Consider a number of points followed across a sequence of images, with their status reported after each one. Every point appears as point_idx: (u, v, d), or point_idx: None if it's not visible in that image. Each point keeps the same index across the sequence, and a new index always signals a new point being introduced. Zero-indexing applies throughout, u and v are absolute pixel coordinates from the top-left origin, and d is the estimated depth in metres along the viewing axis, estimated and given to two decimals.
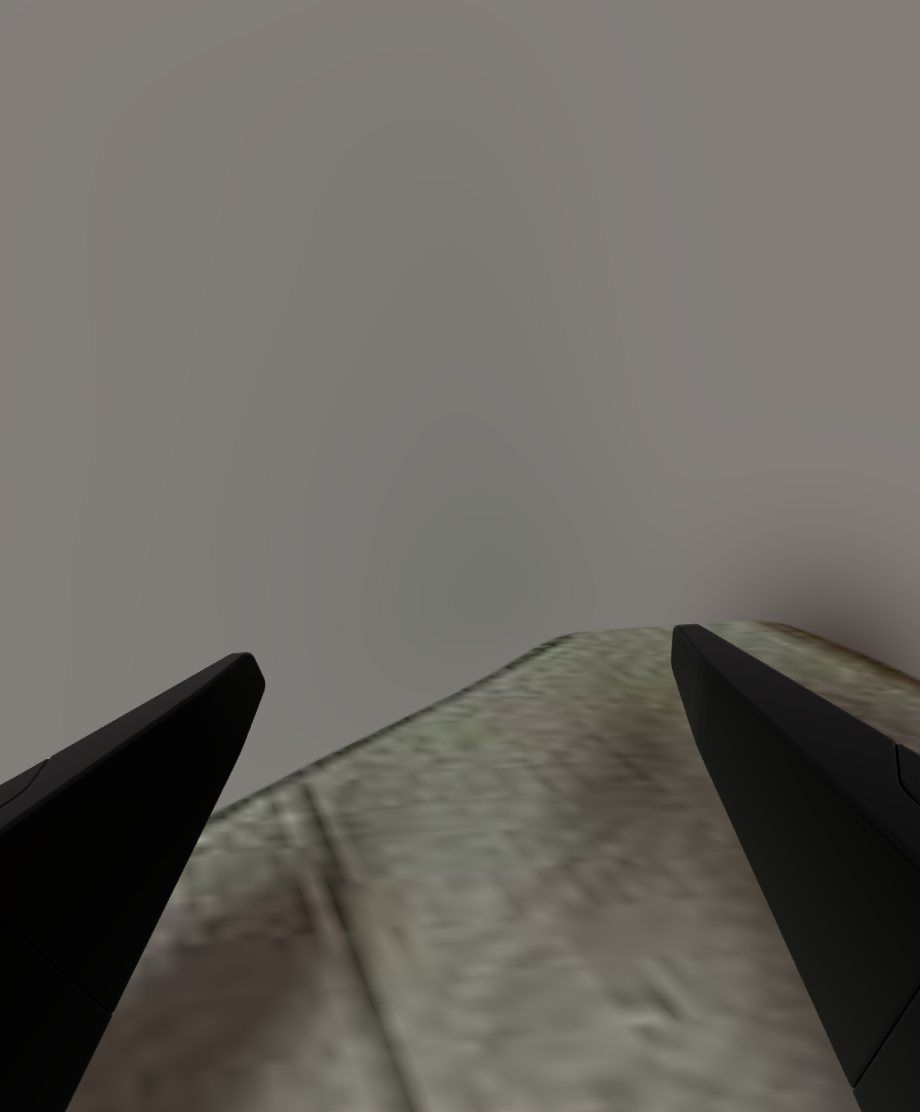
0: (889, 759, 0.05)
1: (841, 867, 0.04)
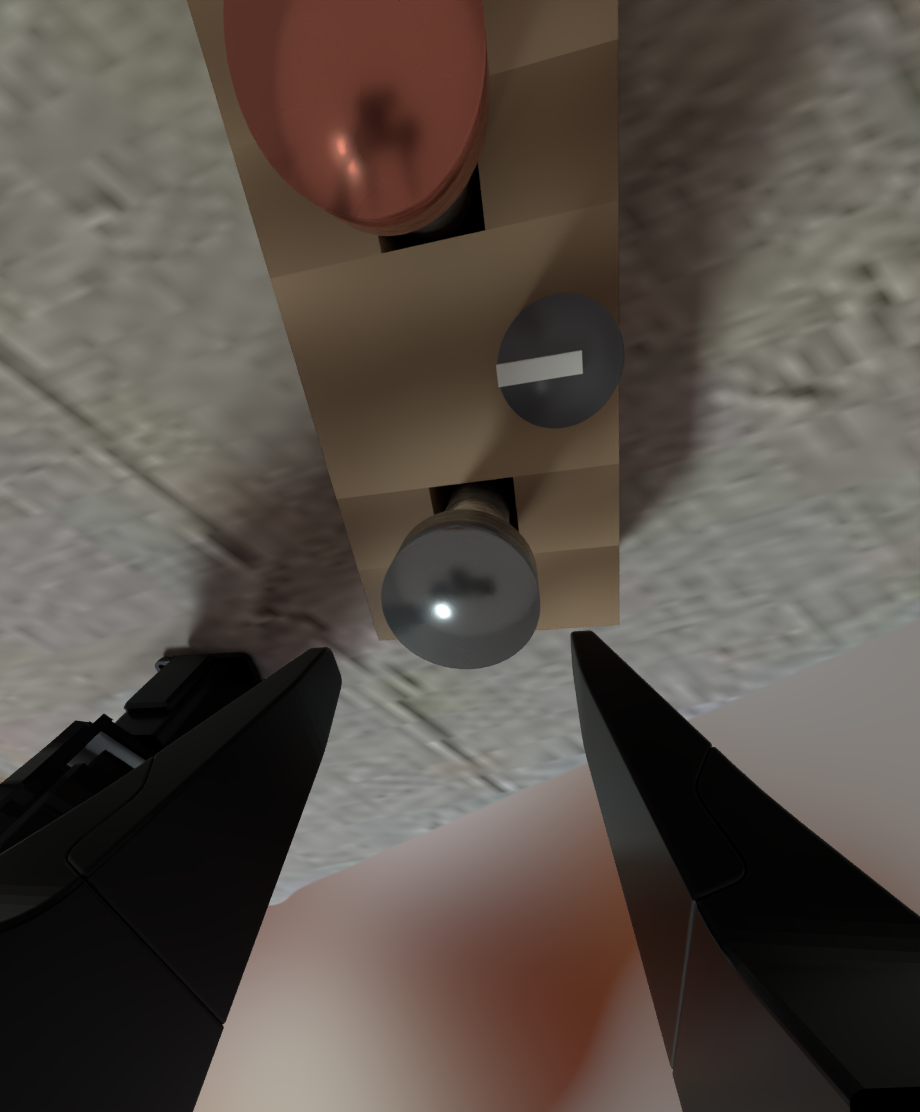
0: (698, 762, 0.05)
1: (647, 863, 0.05)
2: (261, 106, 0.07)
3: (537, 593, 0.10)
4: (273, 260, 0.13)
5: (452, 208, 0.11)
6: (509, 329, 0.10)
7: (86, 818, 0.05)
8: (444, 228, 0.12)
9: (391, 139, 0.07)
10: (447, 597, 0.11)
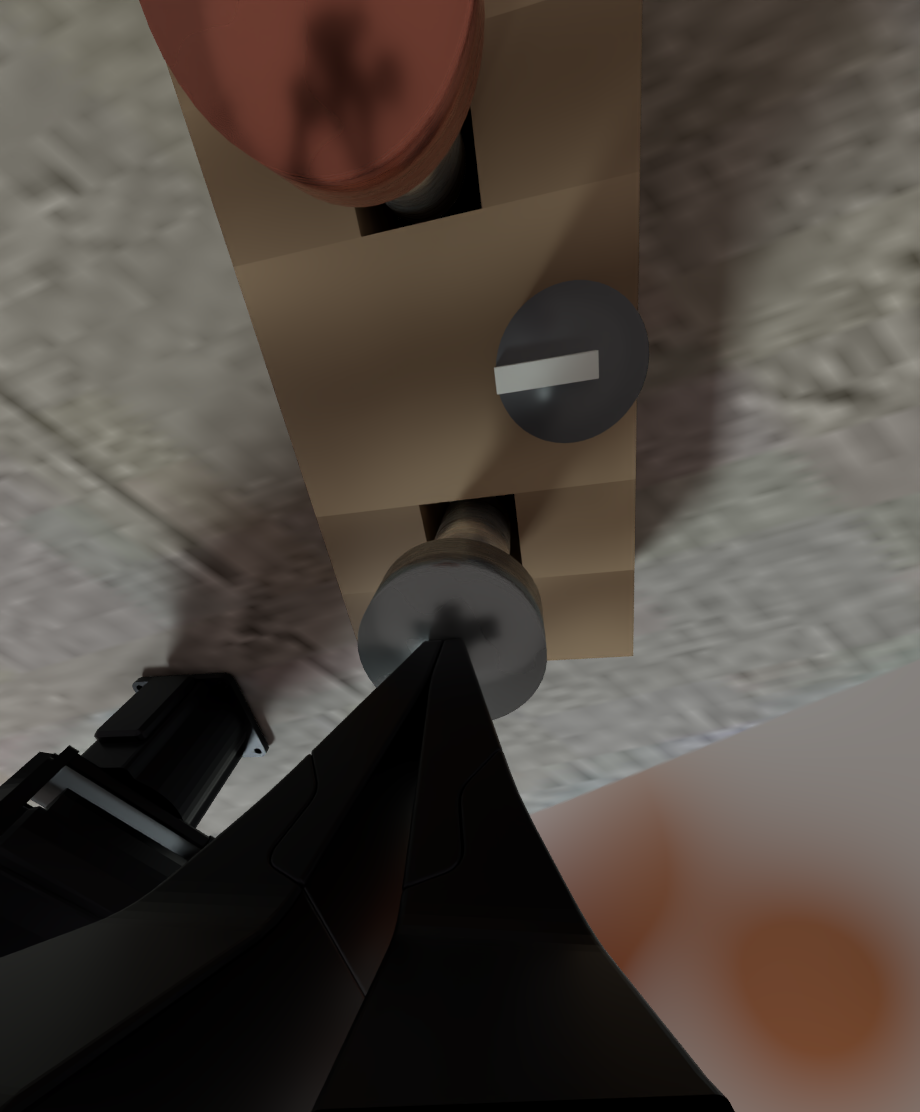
0: (479, 764, 0.05)
1: None
2: (176, 23, 0.05)
3: (543, 642, 0.09)
4: (237, 246, 0.11)
5: (442, 181, 0.10)
6: (510, 324, 0.09)
7: (270, 820, 0.05)
8: (434, 207, 0.11)
9: (350, 67, 0.05)
10: None
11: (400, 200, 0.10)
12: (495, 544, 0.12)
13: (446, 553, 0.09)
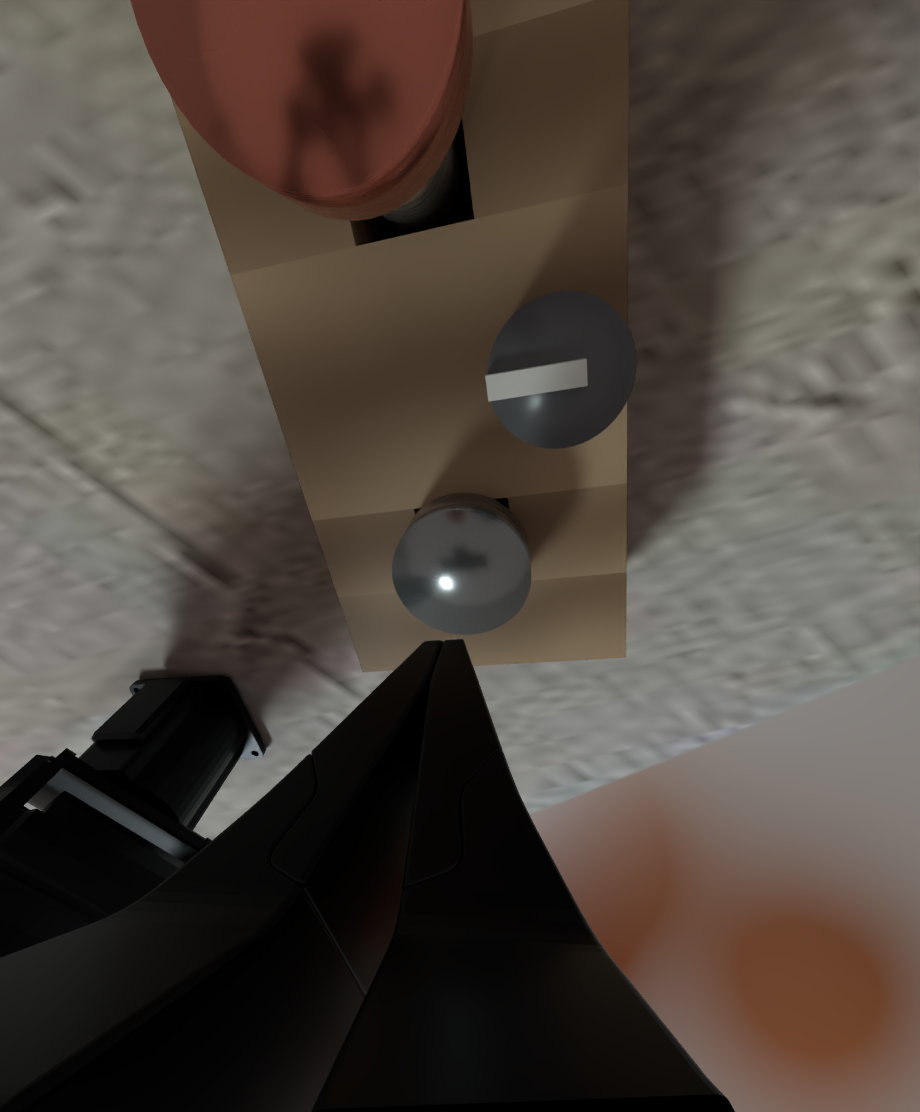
0: (479, 764, 0.05)
1: None
2: (174, 47, 0.05)
3: (528, 564, 0.12)
4: (233, 254, 0.11)
5: (435, 193, 0.10)
6: (501, 333, 0.09)
7: (270, 820, 0.05)
8: (427, 217, 0.11)
9: (342, 90, 0.05)
10: (449, 569, 0.12)
11: (394, 211, 0.10)
12: None
13: (457, 501, 0.12)
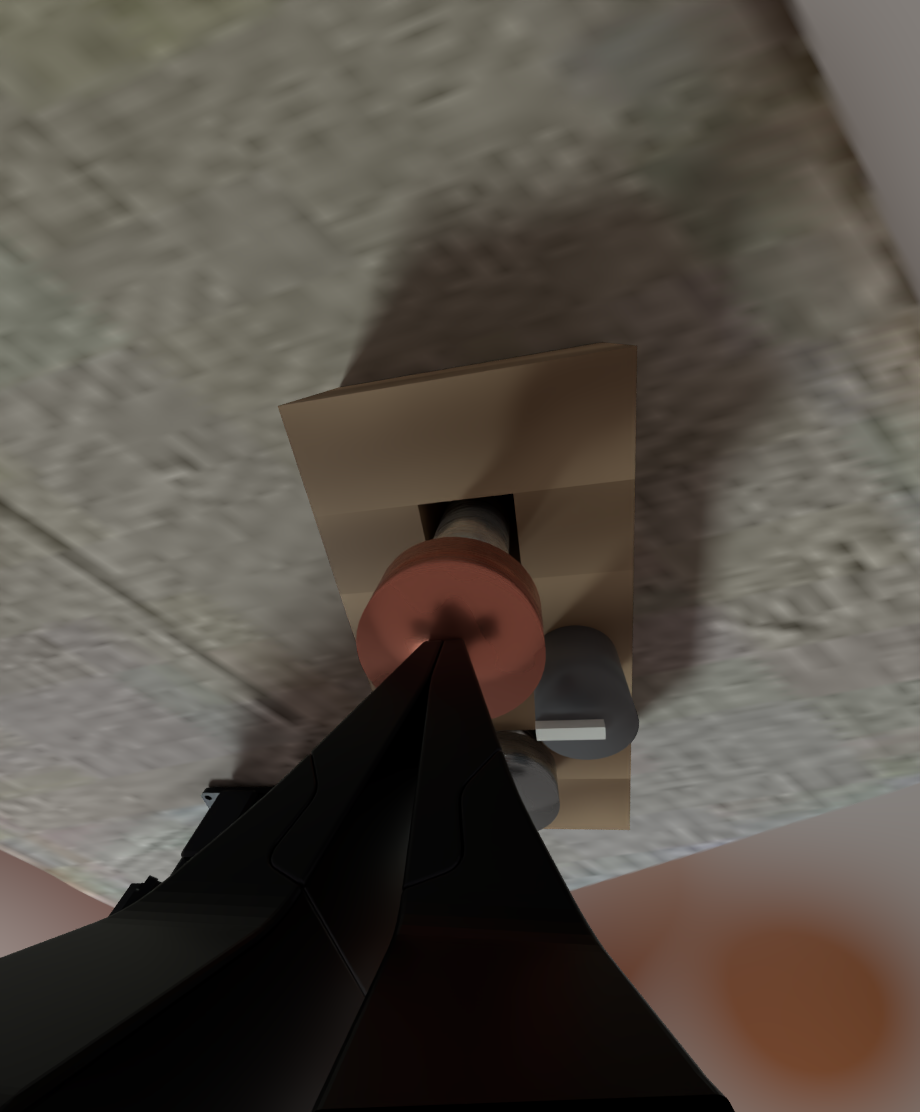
0: (479, 764, 0.05)
1: None
2: (378, 669, 0.10)
3: (558, 800, 0.16)
4: (343, 584, 0.15)
5: None
6: (546, 702, 0.13)
7: (270, 820, 0.05)
8: None
9: None
10: None
11: None
12: None
13: (504, 748, 0.16)
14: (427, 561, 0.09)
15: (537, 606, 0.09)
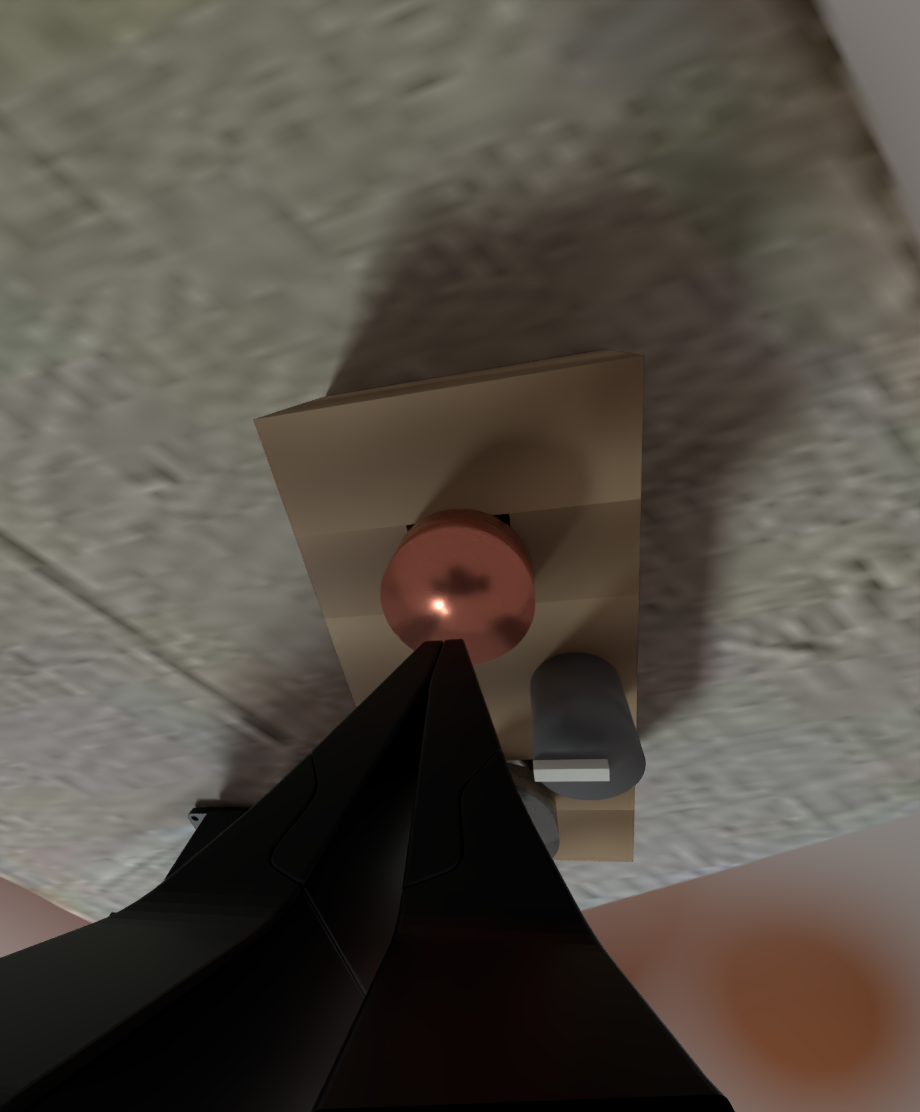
0: (479, 764, 0.05)
1: None
2: (398, 617, 0.12)
3: (557, 837, 0.15)
4: (328, 607, 0.14)
5: None
6: (545, 740, 0.12)
7: (270, 820, 0.05)
8: None
9: (476, 637, 0.12)
10: None
11: None
12: None
13: None
14: (438, 526, 0.11)
15: (528, 564, 0.11)
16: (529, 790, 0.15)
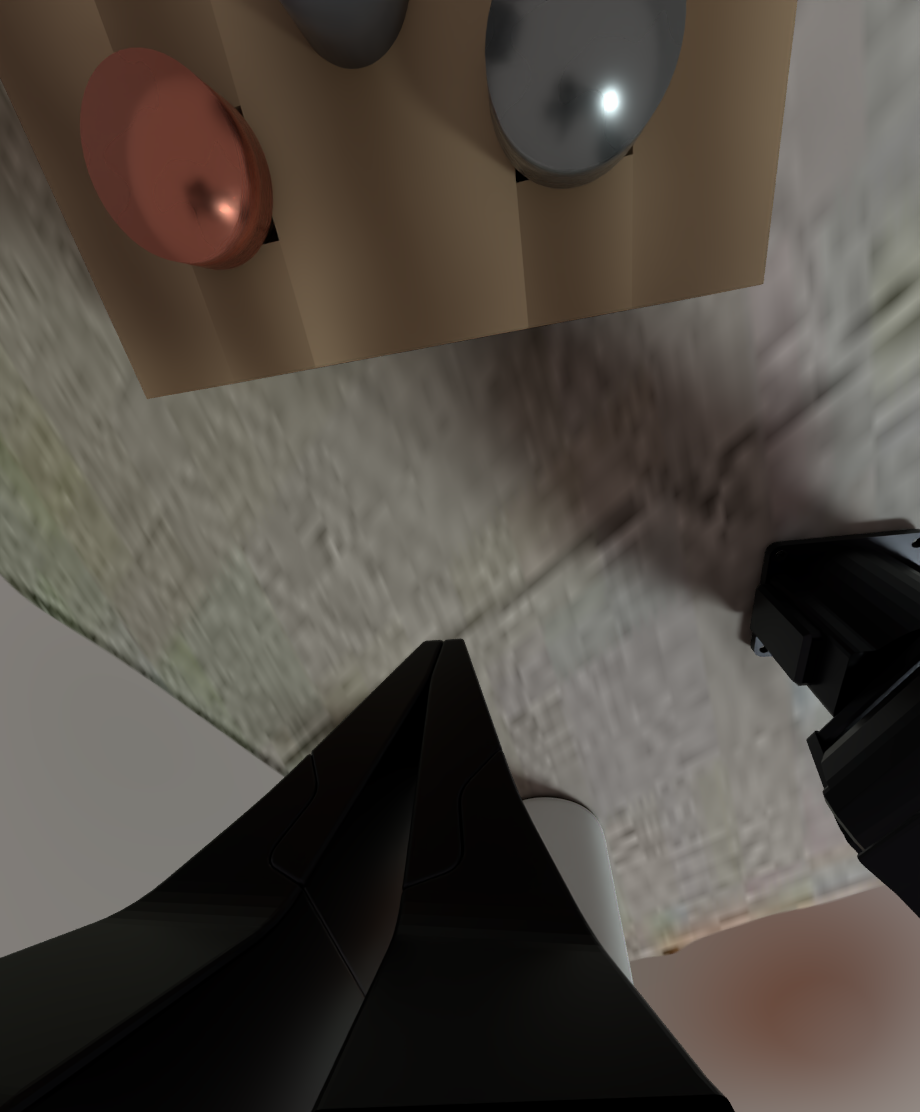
0: (479, 764, 0.05)
1: None
2: (200, 241, 0.11)
3: None
4: (301, 361, 0.14)
5: None
6: None
7: (270, 820, 0.05)
8: None
9: (194, 133, 0.10)
10: (568, 63, 0.09)
11: None
12: None
13: None
14: None
15: None
16: None
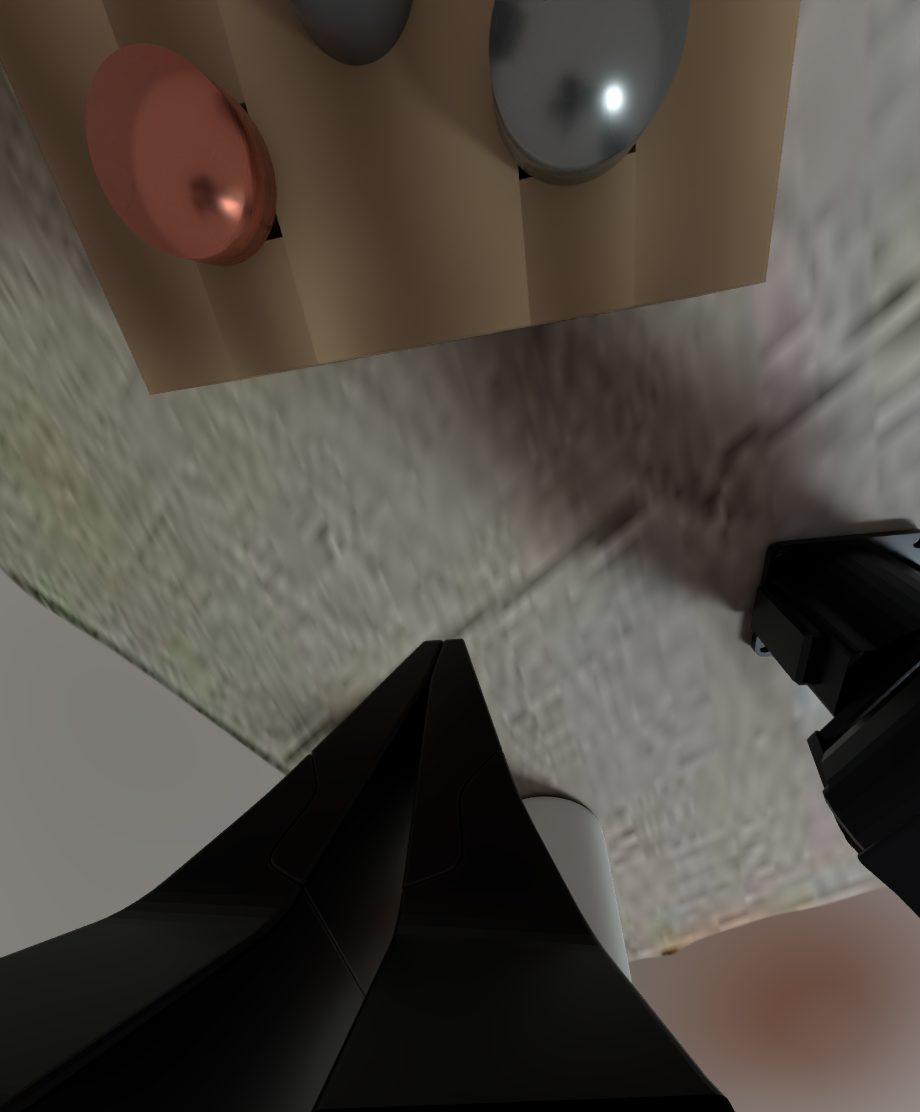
0: (479, 764, 0.05)
1: None
2: (203, 237, 0.11)
3: None
4: (304, 357, 0.14)
5: None
6: None
7: (270, 820, 0.05)
8: None
9: (199, 129, 0.10)
10: (571, 60, 0.09)
11: None
12: None
13: None
14: (117, 193, 0.11)
15: None
16: None
